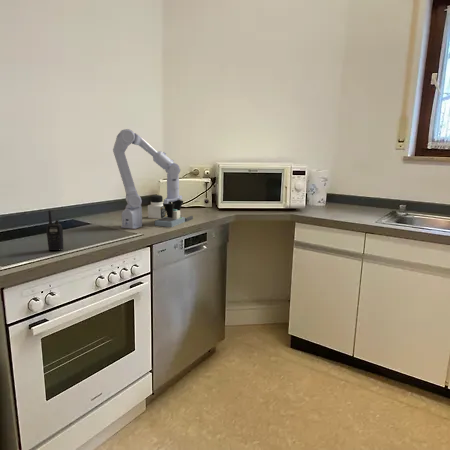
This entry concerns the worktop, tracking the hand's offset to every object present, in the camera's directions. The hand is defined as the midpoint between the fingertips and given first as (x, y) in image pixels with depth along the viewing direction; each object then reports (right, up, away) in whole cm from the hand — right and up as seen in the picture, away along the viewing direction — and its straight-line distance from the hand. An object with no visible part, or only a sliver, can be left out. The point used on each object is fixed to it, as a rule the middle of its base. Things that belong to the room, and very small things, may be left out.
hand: (173, 216), depth 190 cm
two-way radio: (-37, -13, -45) cm, 60 cm away
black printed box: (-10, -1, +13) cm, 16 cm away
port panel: (-1, -4, -2) cm, 5 cm away
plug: (0, -3, +1) cm, 3 cm away
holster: (+4, -2, +7) cm, 9 cm away
